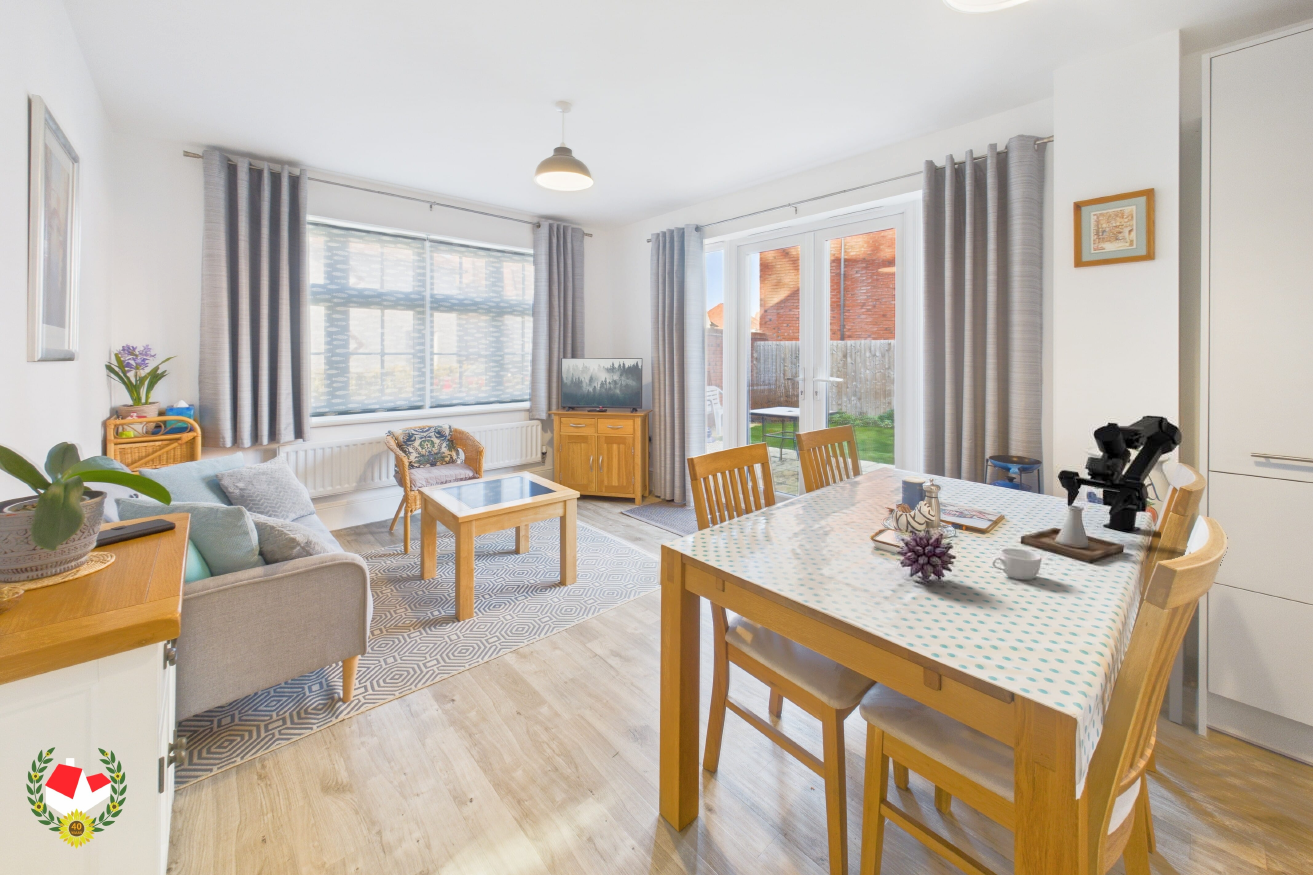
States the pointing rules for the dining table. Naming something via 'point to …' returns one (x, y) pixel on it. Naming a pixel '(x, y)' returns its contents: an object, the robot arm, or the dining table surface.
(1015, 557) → the teacup
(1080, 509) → the flask
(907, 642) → the dining table surface
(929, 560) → the flower
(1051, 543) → the walnut tray
